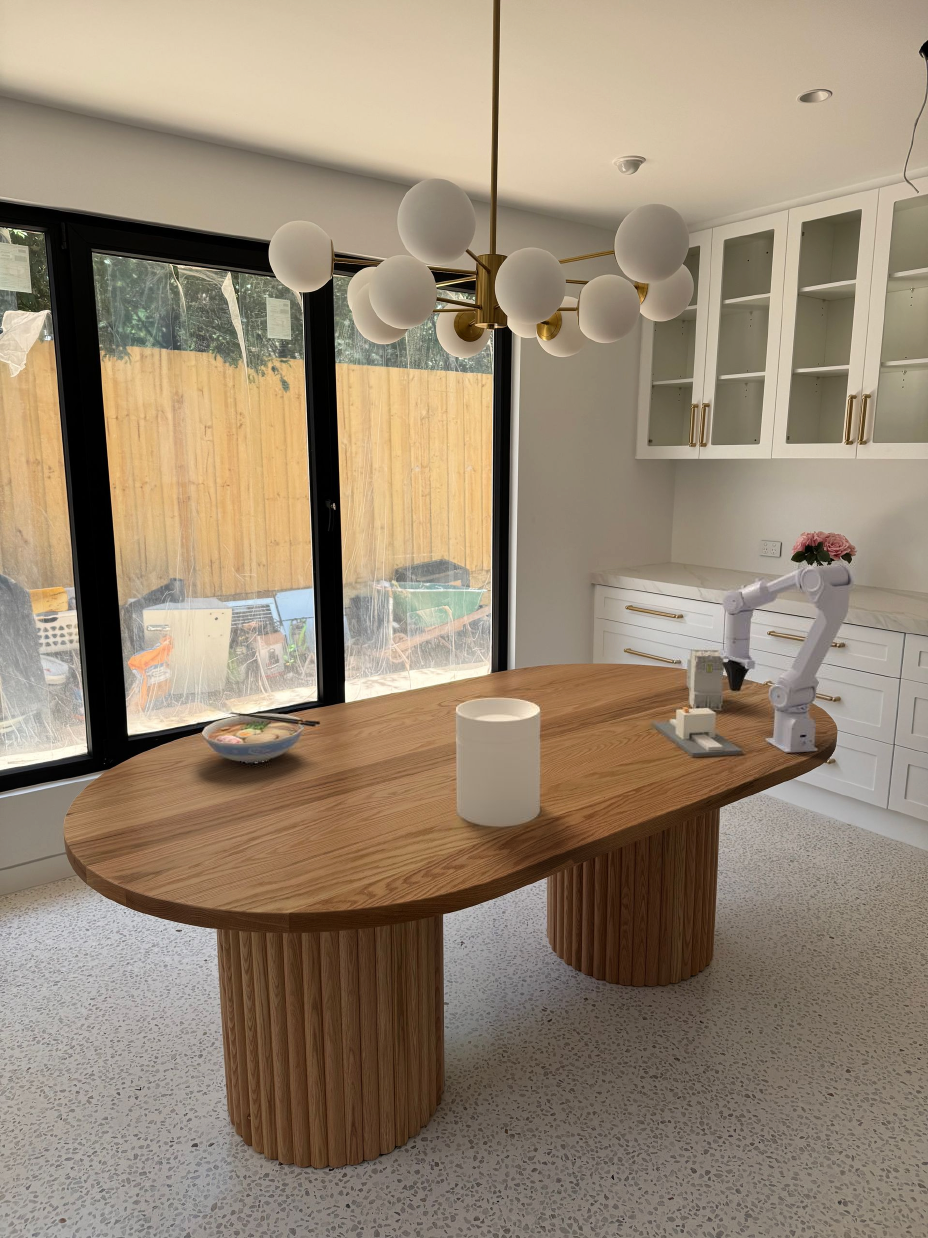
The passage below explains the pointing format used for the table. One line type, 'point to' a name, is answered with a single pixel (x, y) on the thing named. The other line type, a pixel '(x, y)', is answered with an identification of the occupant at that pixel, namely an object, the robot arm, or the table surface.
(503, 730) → the canister
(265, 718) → the ramen bowl
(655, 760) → the table surface
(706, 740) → the din board
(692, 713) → the block
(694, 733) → the block
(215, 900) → the table surface
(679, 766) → the table surface
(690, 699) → the circuit breaker
